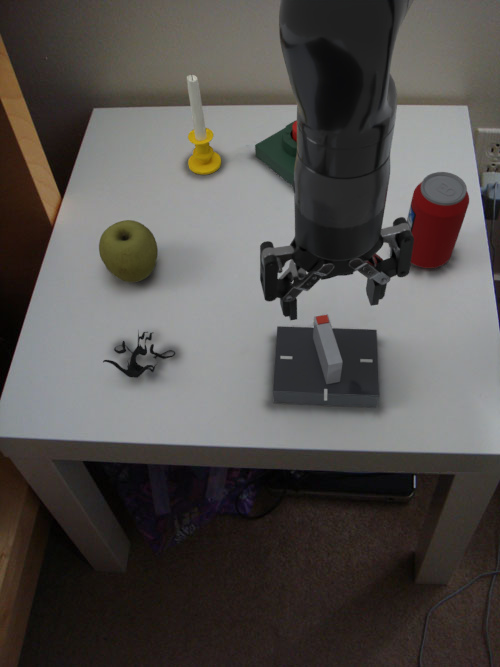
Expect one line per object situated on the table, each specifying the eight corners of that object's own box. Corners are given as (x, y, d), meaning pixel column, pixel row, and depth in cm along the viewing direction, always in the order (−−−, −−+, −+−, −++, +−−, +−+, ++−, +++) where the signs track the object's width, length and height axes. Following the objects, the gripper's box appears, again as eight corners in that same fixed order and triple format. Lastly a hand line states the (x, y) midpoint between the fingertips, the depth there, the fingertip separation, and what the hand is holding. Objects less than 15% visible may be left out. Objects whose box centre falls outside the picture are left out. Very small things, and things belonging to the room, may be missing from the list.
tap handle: (340, 382, 68) (343, 361, 64) (326, 384, 68) (328, 363, 64) (325, 335, 72) (327, 312, 68) (312, 337, 72) (314, 315, 68)
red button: (306, 123, 93) (306, 114, 91) (324, 136, 91) (324, 126, 89) (286, 135, 91) (286, 125, 90) (304, 148, 90) (304, 138, 88)
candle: (223, 152, 95) (212, 62, 82) (219, 175, 93) (207, 85, 80) (191, 152, 96) (175, 62, 83) (186, 174, 93) (169, 85, 80)
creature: (123, 338, 78) (102, 384, 73) (116, 308, 75) (93, 353, 69) (181, 345, 77) (164, 391, 72) (176, 314, 74) (158, 361, 68)
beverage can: (420, 227, 84) (437, 160, 74) (460, 251, 82) (484, 185, 72) (390, 254, 82) (403, 188, 72) (430, 280, 79) (450, 216, 69)
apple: (154, 241, 86) (144, 205, 80) (169, 282, 82) (160, 247, 76) (102, 257, 85) (88, 222, 79) (115, 299, 81) (101, 265, 75)
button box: (312, 122, 98) (313, 101, 95) (355, 153, 94) (357, 132, 90) (255, 156, 95) (254, 135, 91) (296, 189, 90) (297, 168, 87)
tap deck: (373, 337, 75) (376, 322, 72) (376, 414, 69) (379, 402, 67) (277, 333, 76) (277, 319, 73) (273, 409, 70) (272, 397, 68)
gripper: (263, 240, 47) (271, 348, 60) (440, 208, 47) (409, 322, 61) (246, 175, 51) (258, 290, 64) (410, 146, 51) (387, 266, 65)
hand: (332, 305), depth 62 cm, fingers open, 8 cm apart
